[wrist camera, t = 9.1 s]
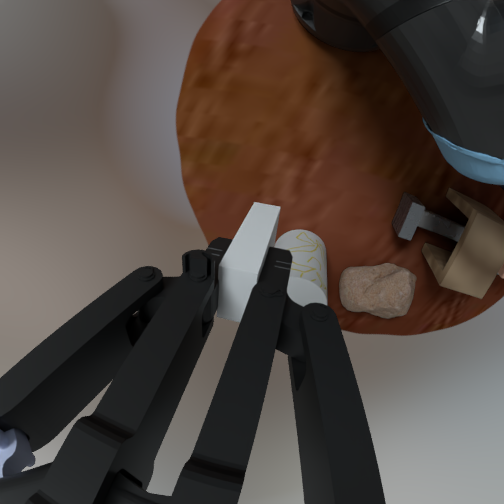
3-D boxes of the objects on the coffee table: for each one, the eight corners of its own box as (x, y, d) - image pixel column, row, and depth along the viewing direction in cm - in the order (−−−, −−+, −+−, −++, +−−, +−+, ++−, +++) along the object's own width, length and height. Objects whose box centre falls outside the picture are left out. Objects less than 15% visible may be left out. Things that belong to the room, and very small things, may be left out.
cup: (335, 242, 41) (339, 293, 31) (312, 282, 46) (308, 336, 36) (285, 221, 41) (274, 266, 31) (266, 263, 46) (250, 314, 36)
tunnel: (449, 187, 33) (477, 212, 25) (488, 207, 32) (518, 234, 24) (421, 250, 39) (439, 285, 31) (460, 264, 38) (481, 298, 30)
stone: (412, 259, 42) (420, 261, 33) (414, 313, 42) (421, 329, 33) (342, 265, 48) (333, 269, 39) (345, 318, 47) (336, 333, 38)
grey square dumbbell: (404, 187, 34) (414, 198, 30) (517, 241, 32) (530, 254, 28) (389, 224, 37) (396, 239, 34) (502, 268, 35) (513, 283, 32)
